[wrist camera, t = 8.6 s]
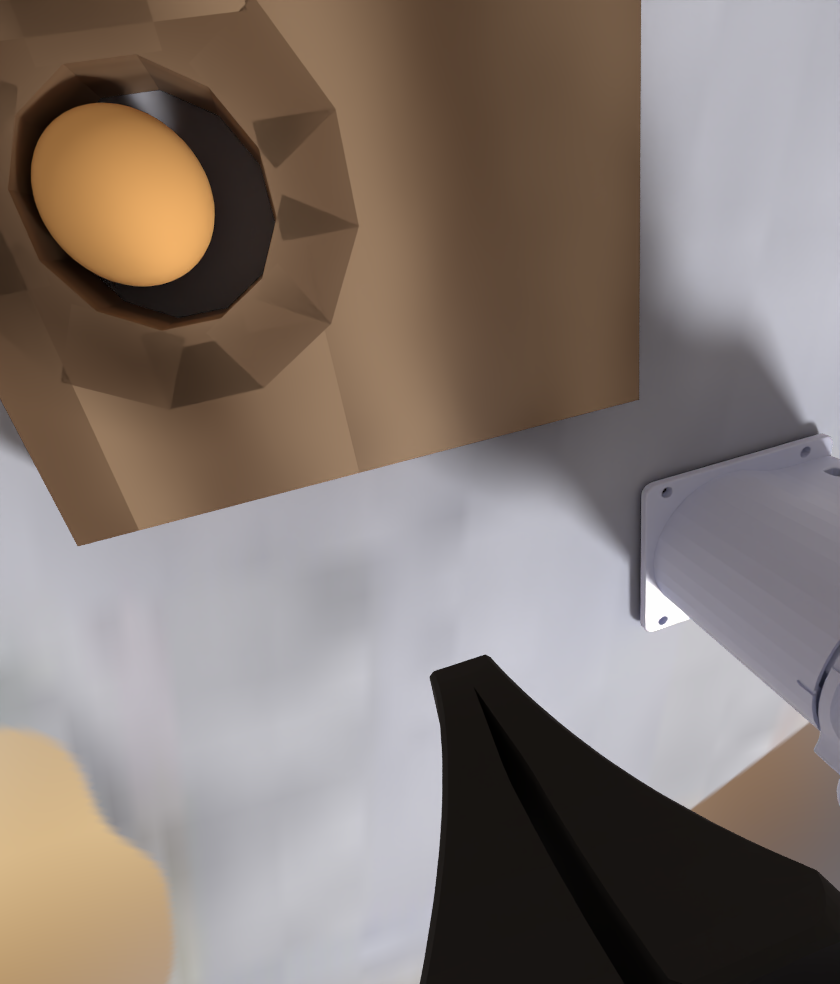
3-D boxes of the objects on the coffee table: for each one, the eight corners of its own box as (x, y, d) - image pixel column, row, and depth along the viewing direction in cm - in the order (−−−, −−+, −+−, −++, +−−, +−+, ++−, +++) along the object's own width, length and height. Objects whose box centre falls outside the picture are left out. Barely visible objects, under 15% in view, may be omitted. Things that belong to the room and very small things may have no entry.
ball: (-22, 119, 13) (145, 117, 15) (52, 298, 15) (191, 271, 17) (25, 82, 10) (217, 88, 13) (108, 304, 12) (261, 271, 15)
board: (572, -223, 14) (642, -332, 12) (592, 380, 21) (638, 399, 18) (-220, -172, 11) (-368, -300, 9) (104, 503, 18) (77, 546, 16)
